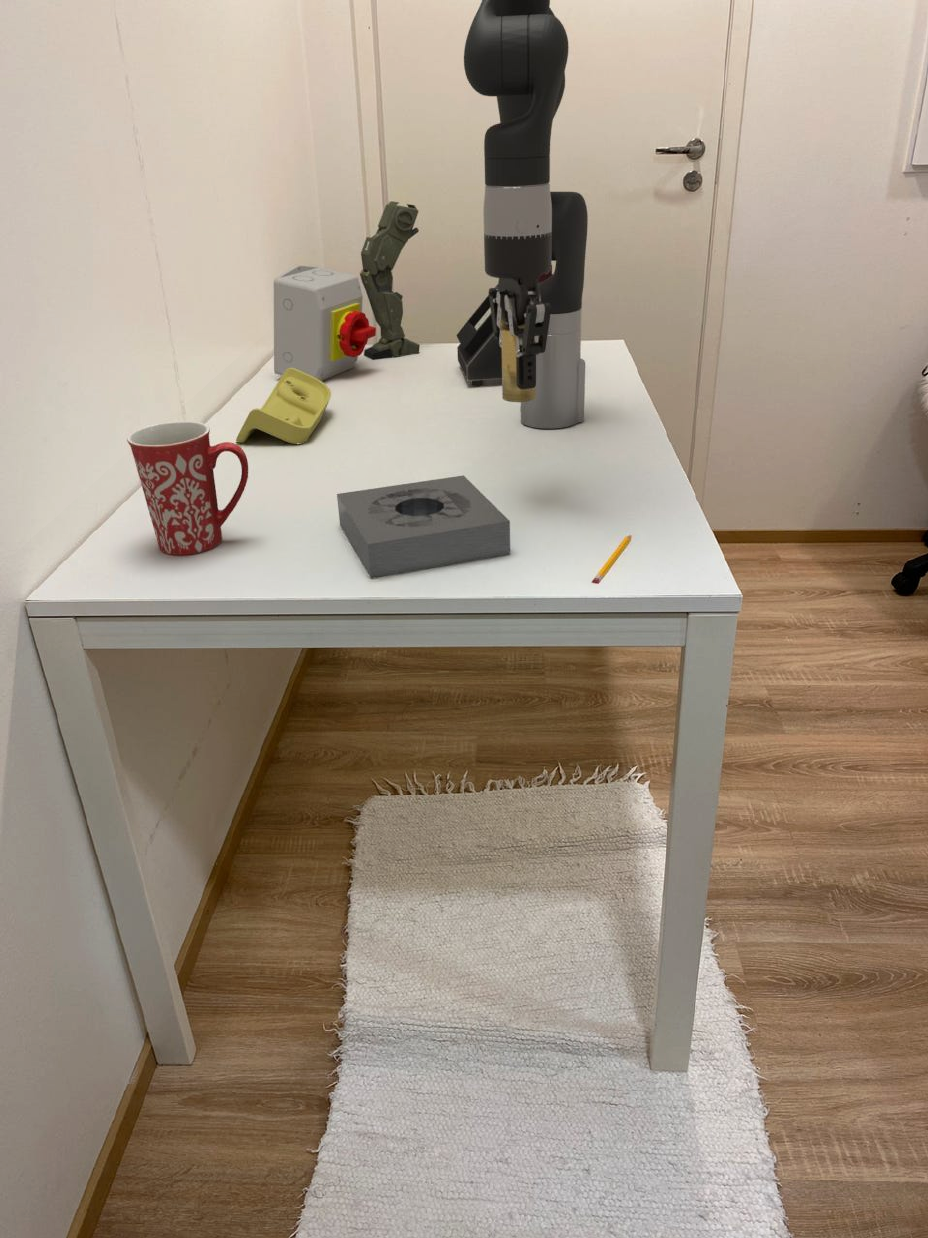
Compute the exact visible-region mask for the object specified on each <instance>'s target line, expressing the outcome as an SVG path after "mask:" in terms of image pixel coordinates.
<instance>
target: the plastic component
mask: <svg viewBox="0 0 928 1238" xmlns="http://www.w3.org/2000/svg"><path fill="white" fill-rule="evenodd" d="M331 397H332V391H331V389H330V387H328V386H327V384H326V383H324V381H320V380H318V379H317V378H315V377H313V376H311V375H308V374H306V373H304V372H302V371H299V370H297V369H295V368H289V369H287V370H286V371H285V372H284V373H283V375H280V378H279V380H278V381H277V383H276V385H275V386H274V388H273V389H272V392H270V395H269V396H268V397H267V399H266V400H265V402H264V404H263V405H262V407H261V408H256V407H255V408H253V409H252V410H250V412H249V413H248V416H247V417H246V418H245V421H244V423H243V425H242V427H241V429H240V430H239V433H238V435H237V437H236V439H235V441H236V442H238V443H240V444H244V443H245V442H246V441H247V440H248V439H249V437H251V435H252V434H253V432H254V431H255V430H259V431H261V432H264V433H266V434H269V435H271V436H273V437H275V438H278V439H280V440H282V441H284V442H287V443H289V444H293V445H298V444H297V443H302V444H304V443H303V442H305V443H306V442H307V441H308V439H309V438H310V436H311V435H312V433H313V432H314V430H315V429H316V427H317V426H318V424H319V423H320V421H321V419H322V418H323V414H324V413H325V410H326V409H327V407H328V405H329V402H330V399H331Z"/></svg>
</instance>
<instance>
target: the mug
mask: <svg viewBox="0 0 928 1238" xmlns="http://www.w3.org/2000/svg"><path fill="white" fill-rule="evenodd" d="M210 433H211V429H210V427H209V425H207V424H205V423H203V422H199V421H191V420H182V421H181V420H180V421H179V420H178V421H167V422H161V423H157V424H152V425H151V424H150V425H148V426H147V425H146V426H144V427H142V428H139V429H136V430H134V431H132V432H131V433H129V434H128V435H127V437H126V441H127V443H128V445H129V446H130V449H131V453H132V456H133V460H134V463H135V466H136V470H137V471H136V472H137V474H138V477H139V481H140V484H141V487H142V491H143V496H144V498H145V502H146V505H147V510H148V513H149V517H150V519H151V523H152V528H153V530H154V535H155V538H156V542H157V545H158V548H159V550H160V551H161V552H162V553H164V554H167V555H172V556H187V555H188V556H189V555H195V554H199V553H203V552H206V551H209V550H211V549H213V548H215V547H216V546H218V545H219V544H220V543H221V541H222V539H223V537H222V536H223V534H222V533H223V532H222V525H224V523H225V522H226V521H227V519H228V518H229V516H230V515H231V514H232V513H233V511H234V509H235V508H236V506H237V504H238V502H239V501H240V499H241V498H242V495H243V494H244V491H245V489H246V486H247V482H248V480H249V479H248V478H249V462H248V459H247V455H246V453H245V451H244V450H243V447H241V446H240V445H238V444H237V443H234V442H232V441H231V442H230V441H226V442H225V441H224V442H220V443H217V444H215V445H212V446H211V445H210V444H211V443H210ZM225 452H230V453H232V454H234V455H235V456H236V457H237V458H238V460H239V463H240V466H241V476H240V480H239V483H238V486H237V488H236V491H234V493H233V495H232V497H231V499H230V500H229V502H228V503H227V505H226V506H225V507H224V508H223V509H219V505H218V498H217V497H218V496H217V490H216V482H215V474H214V469H215V468H216V467H217V466H216V465H217V461H218V457H220V455H221V454H222V453H225Z"/></svg>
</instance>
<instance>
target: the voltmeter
mask: <svg viewBox="0 0 928 1238" xmlns="http://www.w3.org/2000/svg"><path fill="white" fill-rule="evenodd" d="M553 274H554V273H553V265H552V264H551V271H550V272H549V273H548V274H546V275H541V276H540V277H539V278H538V283H540V282H542V281H545V280H546V279H548V278H549V277H551V276H552V275H553ZM496 287H498V284H497V285H496V286H495V287H494V288H496ZM505 320H506V318H505ZM456 337H457V339H458V341H459V342H458V343H459V345H458V346H457V347H456V350H457V361H458V364H459V366H460V368H461V371H462V372H463V373H462V374H463V375H464V378H465V380H466V381H467V382H471V386H473V387H481V386H483V385H484V381H488V380H502V348H501V347H500V345H499V339H497V340H496V339H495V337H494V331H493V323H492V316H491V308H490V300H489V294H487V297H485V299H484V300H483V301H482V303H480V305H479V306H478V307H477V309H476V310H475V311H474V312H473V314H472V315H471V316H470V317H469V318H468V320H467V321H466V322H465V323H464V325H463V326H462V327H461V329H460V330H459V331H458V332H457V334H456Z"/></svg>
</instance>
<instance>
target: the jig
mask: <svg viewBox="0 0 928 1238" xmlns="http://www.w3.org/2000/svg"><path fill="white" fill-rule="evenodd" d="M336 497H337V498H336V499H337V507H338V508H337V509H338V516H339V517H338V518H339V525H340V527H341V529H342V530H343V533H344V534H345V536H346V538H347V539H348V542H349V543H350V545H351V546H352V548H353V550H354V552H355V553H356V555H357V557H358V558H359V560H360V562H361V564H362V565H363V567H364V569H365V570H366V573H367V574H368V576H369V577H370V579H375V578H380V577H381V578H382V577H386V576H393V575H398V574H403V573H410V572H416V571H420V570H426V569H427V570H428V569H433V568H434V569H435V568H439V567H443V566H444V567H445V566H450V565H456V564H461V563H467V562H468V563H469V562H473V561H478V560H485V559H490V558H491V559H492V558H496V557H497V558H498V557H503V556H508V555H511V520H510V519H509V518H507V517H506V516H505V515H504V514H503V512H502V511H500V510H499V509H498V508H497V507H496V506H495V505H494V504H493V502H491V501H490V500H489V499H488V498H487V497H486V496H485V495H484V494H483V493H482V492H481V491H480V490H479V489H478V488H477V487H476V486H475V485H474V484H473V483H472V482H471V481H470V480H469V479H468V478H467V477H466V476H465V475H456V476H452V477H451V476H450V477H444V478H437V479H430V480H423V481H417V482H416V481H415V482H409V483H402V484H396V485H387V486H383V487H382V486H381V487H377V488H376V487H375V488H370V489H361V490H355V491H347V492H341V493H340V492H339V493H336Z"/></svg>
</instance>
